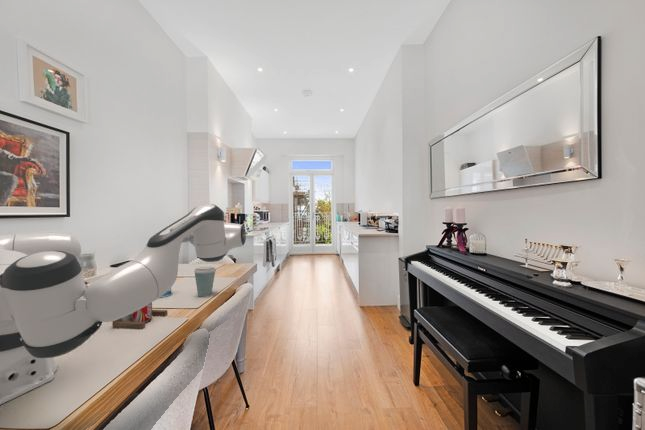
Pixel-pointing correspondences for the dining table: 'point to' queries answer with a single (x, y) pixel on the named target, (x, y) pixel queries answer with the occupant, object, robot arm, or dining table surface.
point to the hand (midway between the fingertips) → (166, 235)
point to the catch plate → (127, 318)
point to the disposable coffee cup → (204, 280)
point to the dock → (136, 325)
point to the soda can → (142, 314)
